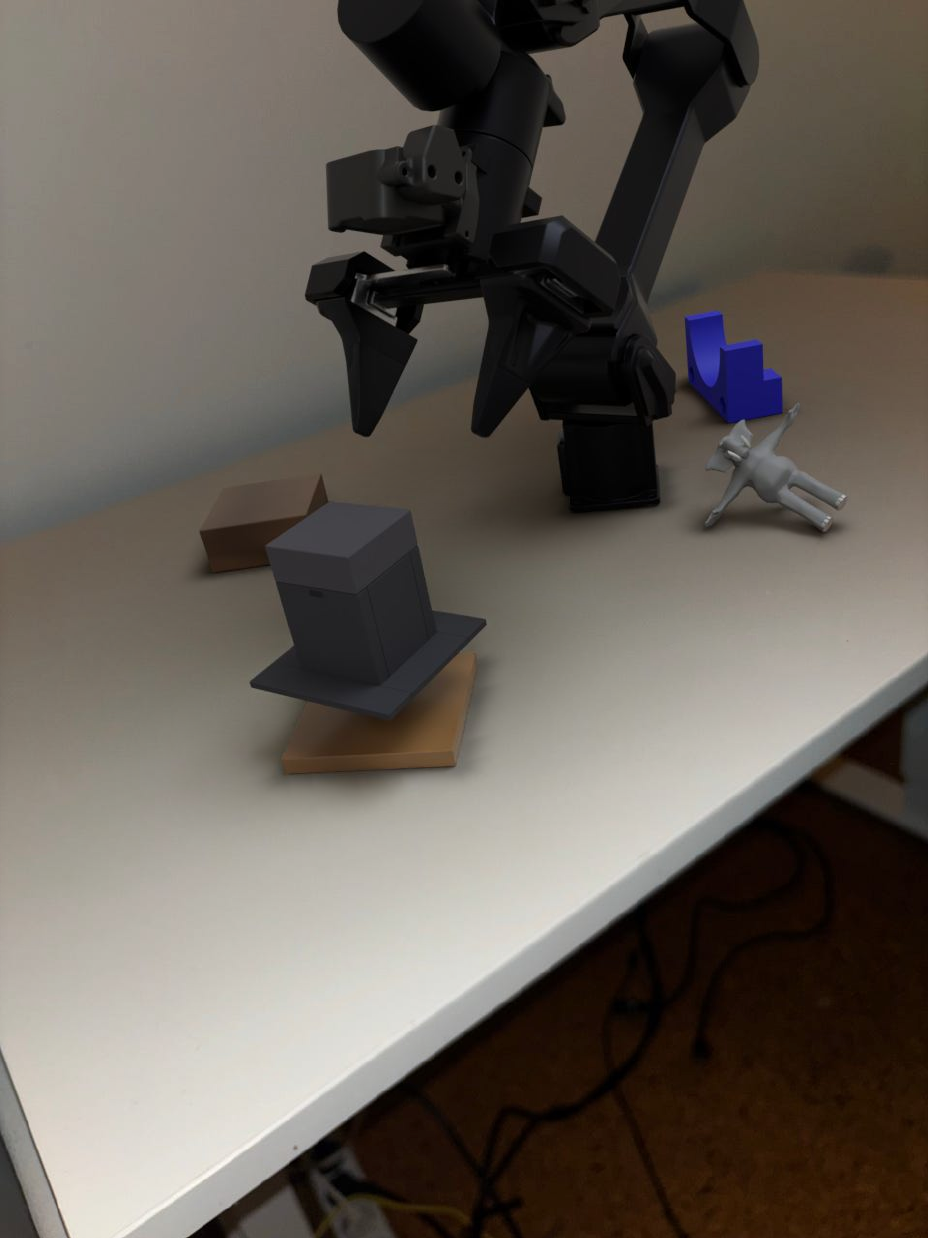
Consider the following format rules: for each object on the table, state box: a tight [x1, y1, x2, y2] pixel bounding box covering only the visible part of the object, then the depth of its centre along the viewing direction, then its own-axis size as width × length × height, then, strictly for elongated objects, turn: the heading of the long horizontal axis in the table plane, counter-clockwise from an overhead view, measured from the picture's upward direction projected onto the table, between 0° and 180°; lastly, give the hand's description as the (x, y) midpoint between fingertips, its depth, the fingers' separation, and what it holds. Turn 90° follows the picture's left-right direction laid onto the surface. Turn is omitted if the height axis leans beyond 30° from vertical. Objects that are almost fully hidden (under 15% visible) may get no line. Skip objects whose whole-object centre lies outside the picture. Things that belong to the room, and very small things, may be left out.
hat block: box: [198, 472, 329, 574], centre depth 78 cm, size 8×8×4 cm
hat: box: [249, 500, 488, 721], centre depth 52 cm, size 9×9×8 cm
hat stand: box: [281, 651, 479, 775], centre depth 54 cm, size 9×9×9 cm
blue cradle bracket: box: [684, 310, 784, 424], centre depth 88 cm, size 12×4×6 cm, turn 5°
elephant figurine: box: [704, 402, 849, 533], centre depth 67 cm, size 10×6×9 cm
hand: (416, 435), depth 55 cm, fingers open, 9 cm apart
